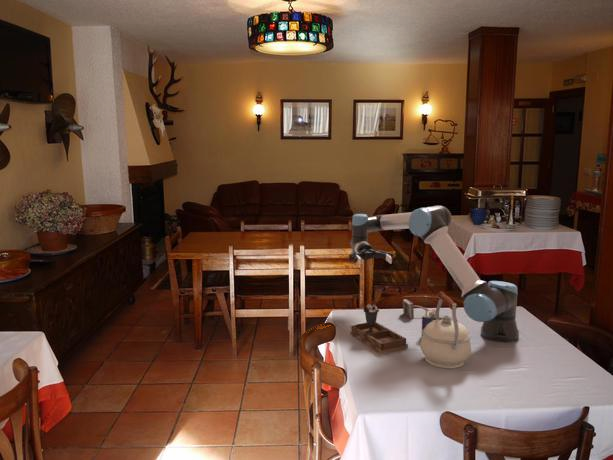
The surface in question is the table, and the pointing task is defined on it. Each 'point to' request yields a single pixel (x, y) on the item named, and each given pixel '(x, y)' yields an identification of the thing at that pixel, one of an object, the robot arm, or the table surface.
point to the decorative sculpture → (409, 308)
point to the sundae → (371, 315)
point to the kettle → (445, 339)
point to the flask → (428, 320)
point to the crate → (379, 338)
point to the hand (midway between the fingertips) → (375, 261)
